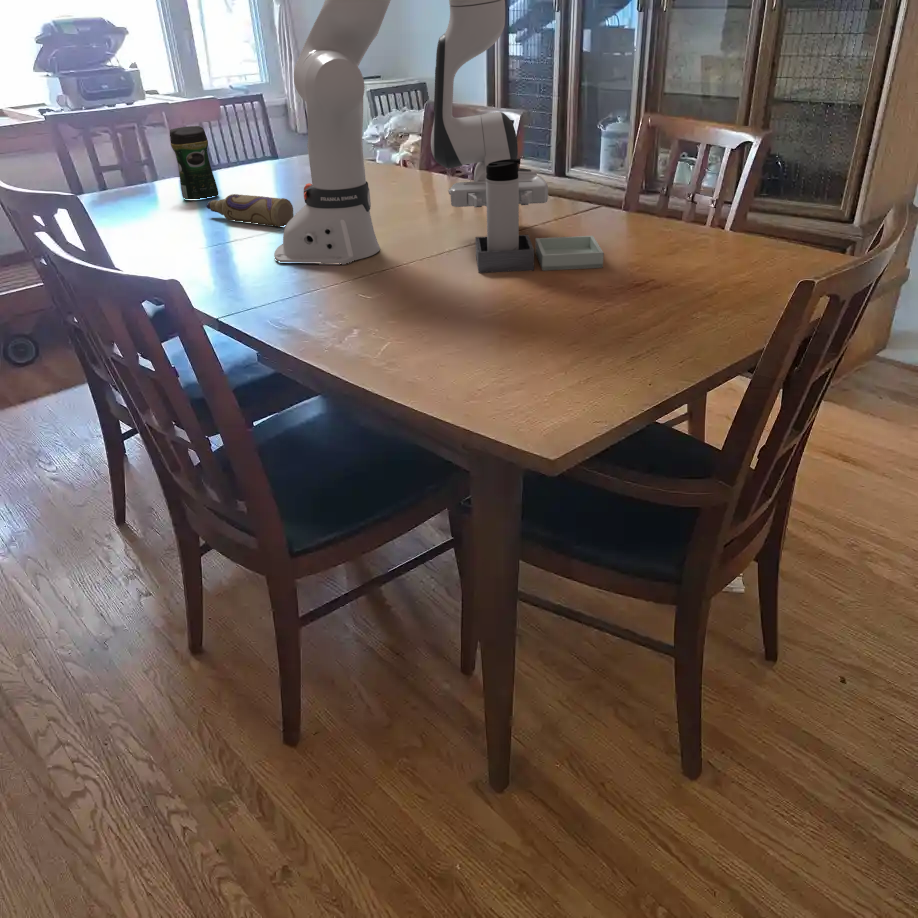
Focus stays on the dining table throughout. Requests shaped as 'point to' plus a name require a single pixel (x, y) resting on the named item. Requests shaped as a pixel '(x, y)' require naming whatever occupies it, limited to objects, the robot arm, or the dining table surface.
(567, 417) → the dining table surface
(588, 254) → the tray
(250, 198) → the decorative bottle
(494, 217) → the travel mug
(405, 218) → the dining table surface
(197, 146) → the coffee jar
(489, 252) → the collar
